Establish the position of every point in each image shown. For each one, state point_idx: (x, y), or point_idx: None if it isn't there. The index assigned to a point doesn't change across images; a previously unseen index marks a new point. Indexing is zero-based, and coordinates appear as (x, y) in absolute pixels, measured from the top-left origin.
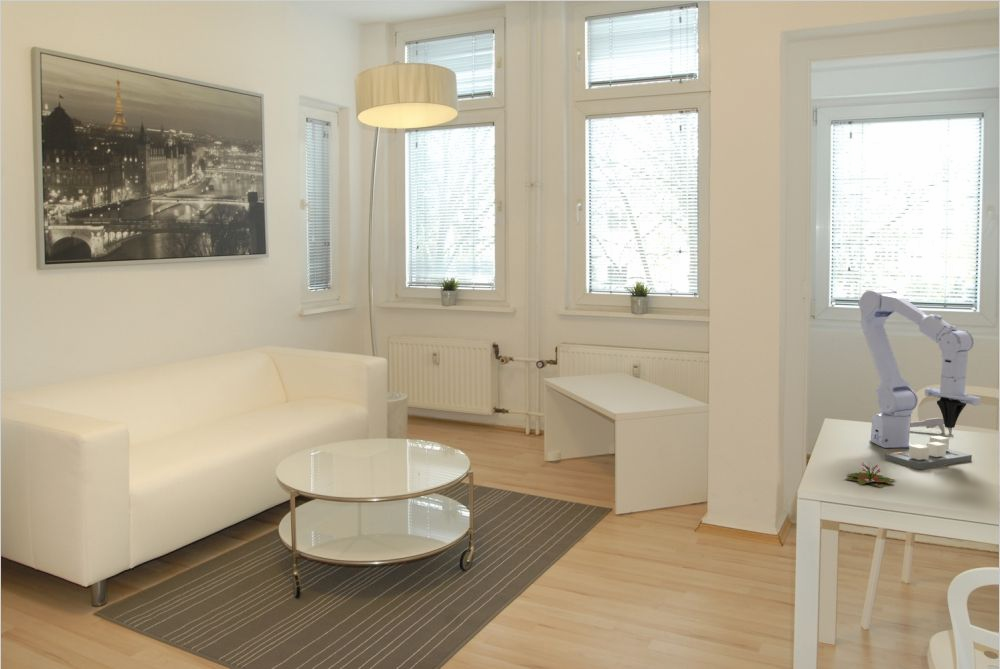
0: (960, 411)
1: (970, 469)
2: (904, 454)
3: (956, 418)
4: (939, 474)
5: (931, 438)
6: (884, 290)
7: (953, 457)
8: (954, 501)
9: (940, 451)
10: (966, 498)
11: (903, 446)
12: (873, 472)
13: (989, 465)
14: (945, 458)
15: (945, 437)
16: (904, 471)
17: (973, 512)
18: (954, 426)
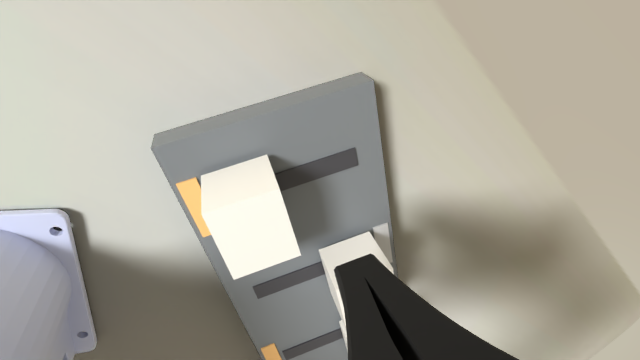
0: (493, 354)
1: (456, 170)
2: (301, 347)
3: (419, 306)
4: (453, 289)
5: (243, 270)
6: None
7: (381, 199)
8: (581, 333)
9: None
10: (587, 308)
11: (80, 274)
12: None
13: (450, 41)
14: (388, 241)
15: (256, 200)
16: None
17: (625, 326)
18: (376, 258)
